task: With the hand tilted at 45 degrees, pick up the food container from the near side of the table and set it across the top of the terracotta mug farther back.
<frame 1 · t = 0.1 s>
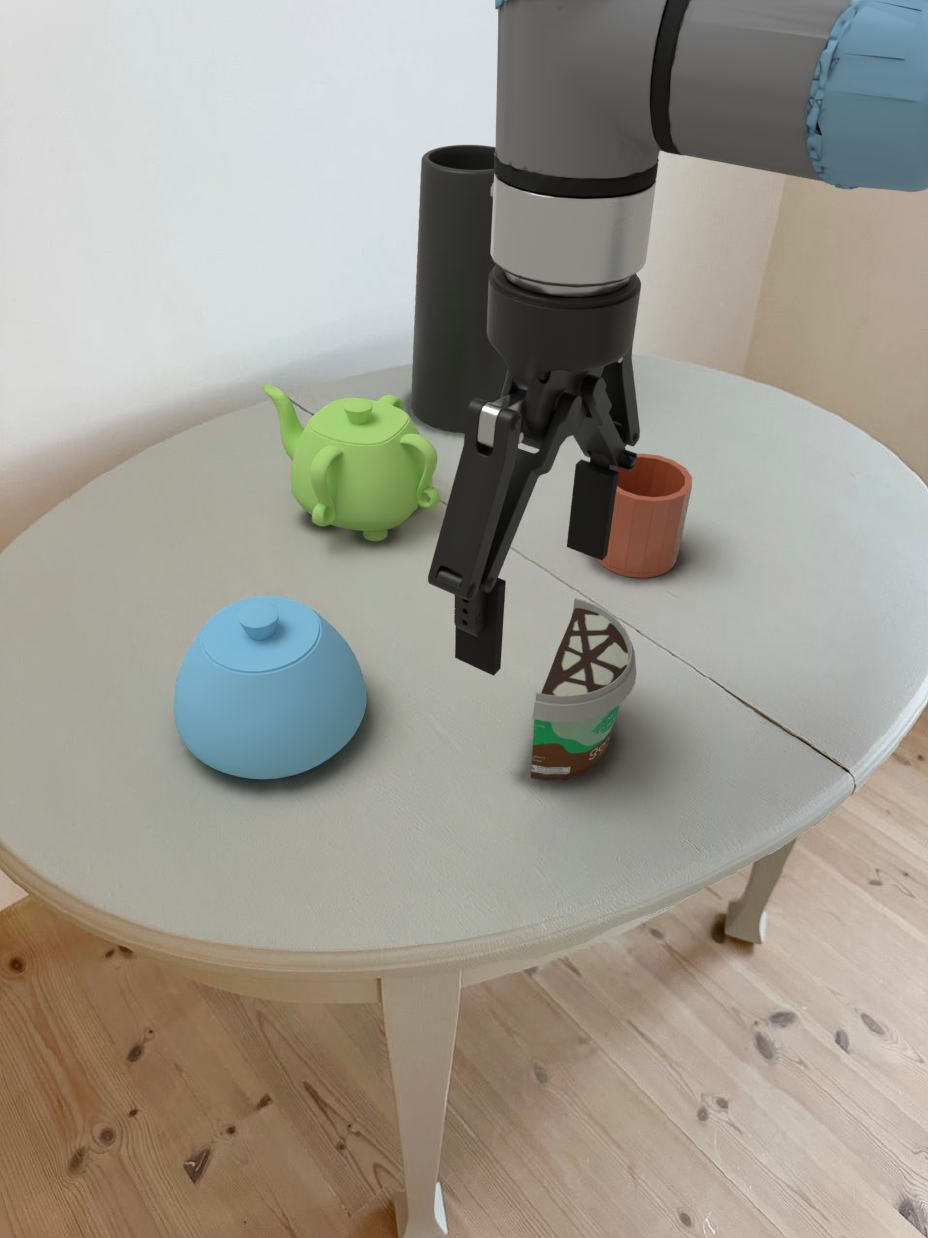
hand: (536, 603, 60), 19 cm above the table, tool pointing down, fingers open, 13 cm apart
vase: (465, 407, 120), on the table
teapot: (354, 510, 102), on the table
food container: (583, 746, 77), on the table
mug: (634, 552, 97), on the table
sugar bowl: (275, 722, 78), on the table
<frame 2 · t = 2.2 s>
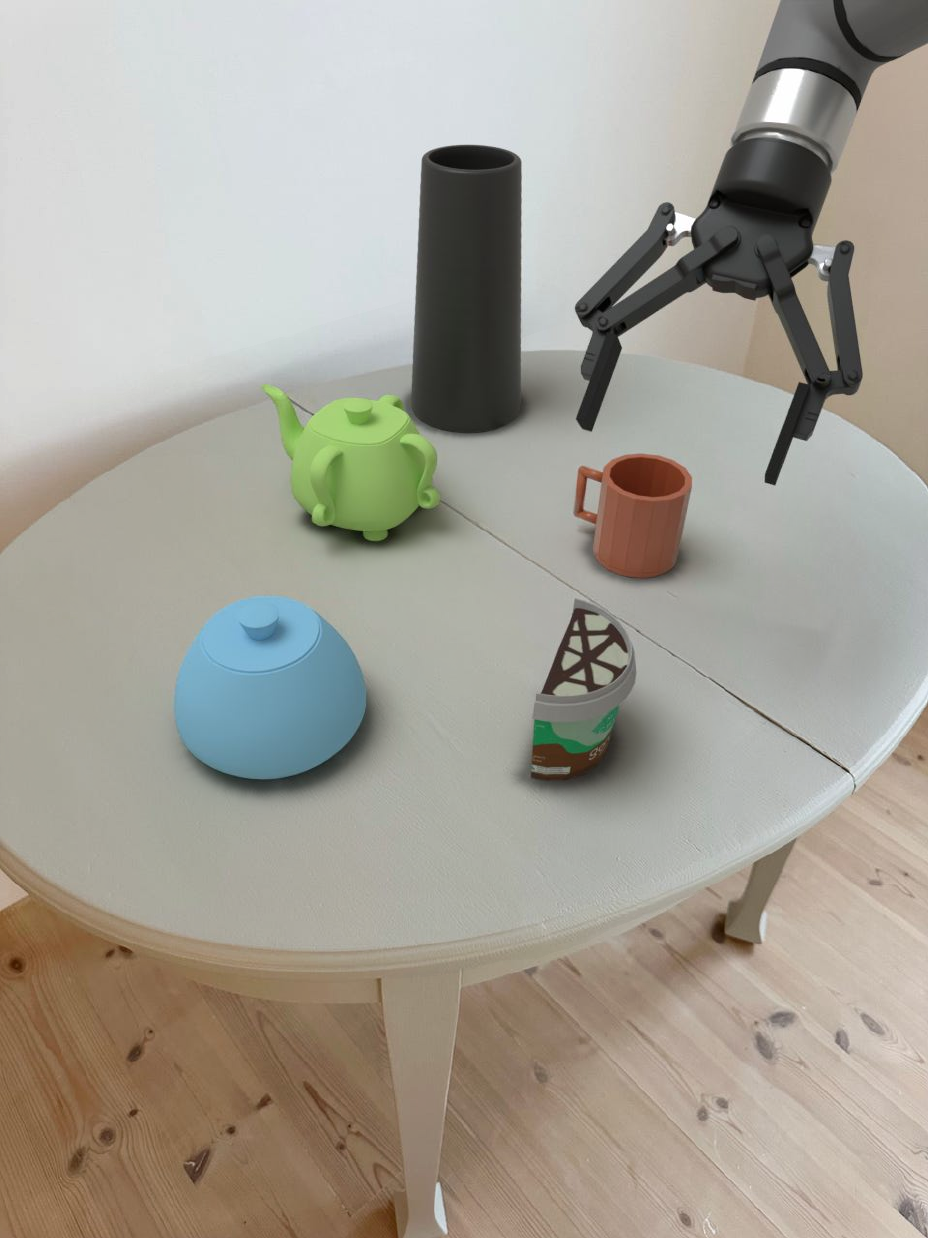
hand: (673, 452, 67), 23 cm above the table, tool tilted 40°, fingers open, 13 cm apart
nothing on the table moved.
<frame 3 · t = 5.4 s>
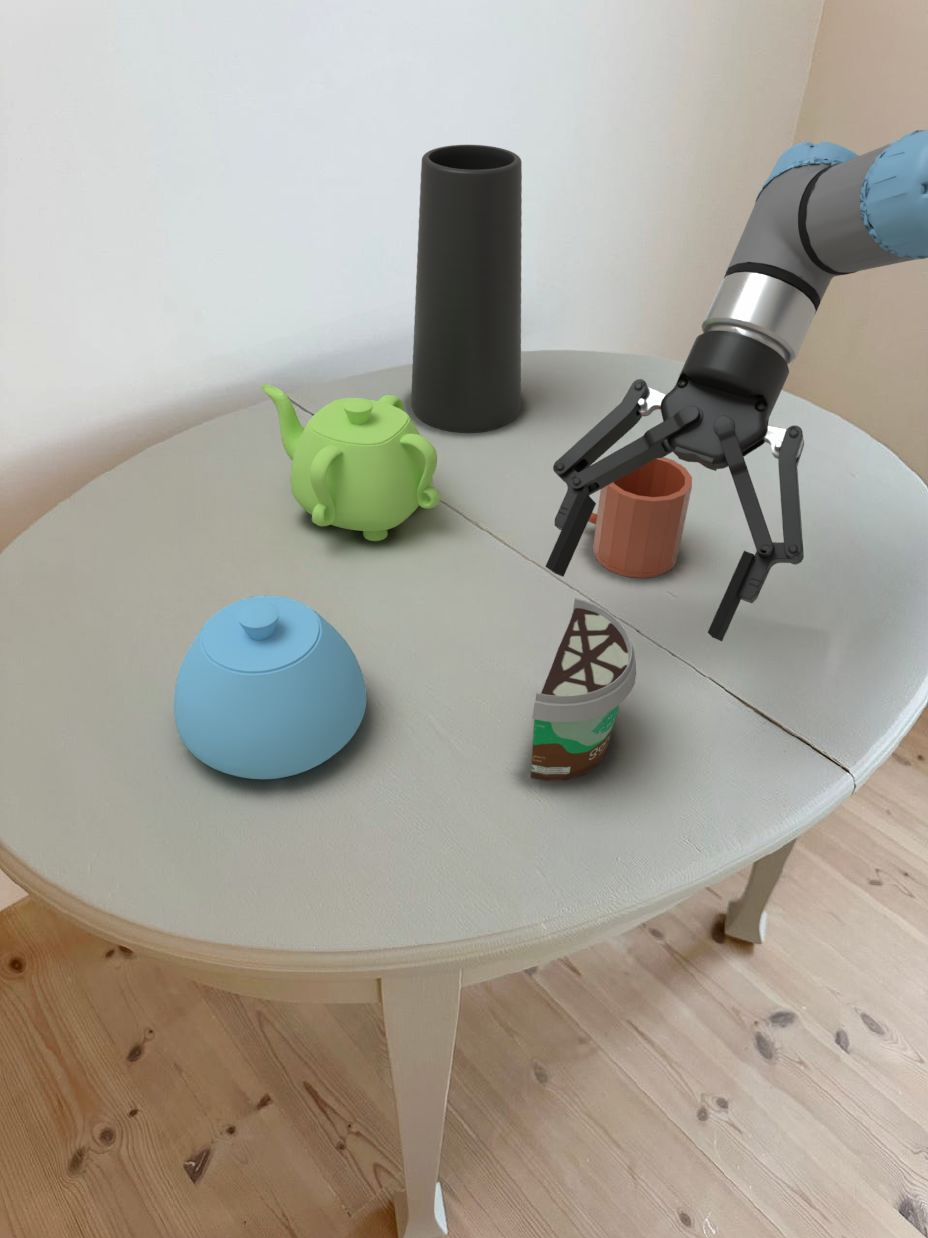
hand: (631, 603, 73), 11 cm above the table, tool tilted 45°, fingers open, 13 cm apart
nothing on the table moved.
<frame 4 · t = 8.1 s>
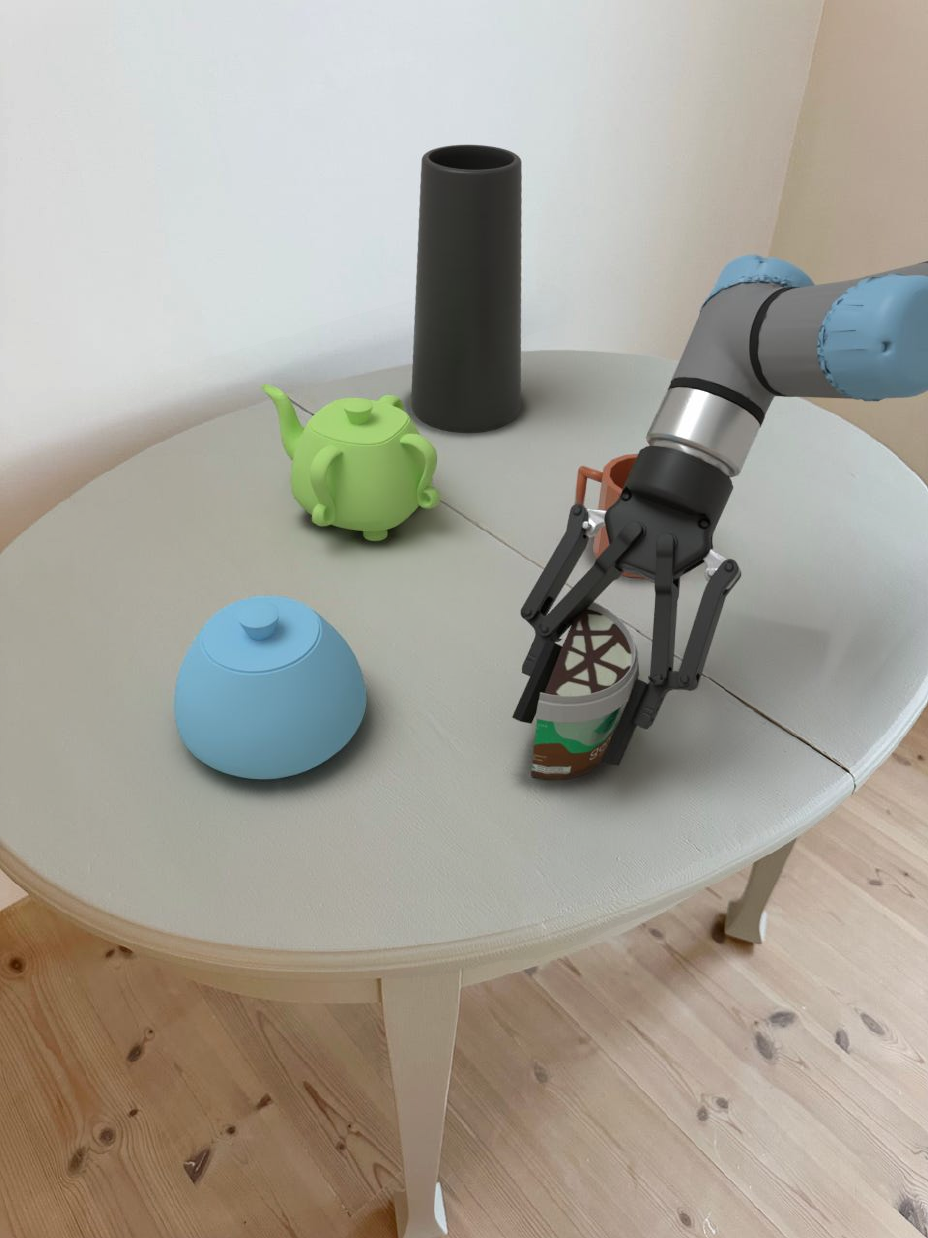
hand: (565, 741, 72), 4 cm above the table, tool tilted 45°, fingers closed on food container, 7 cm apart
food container: (583, 746, 77), on the table, touching gripper
everything else where it was.
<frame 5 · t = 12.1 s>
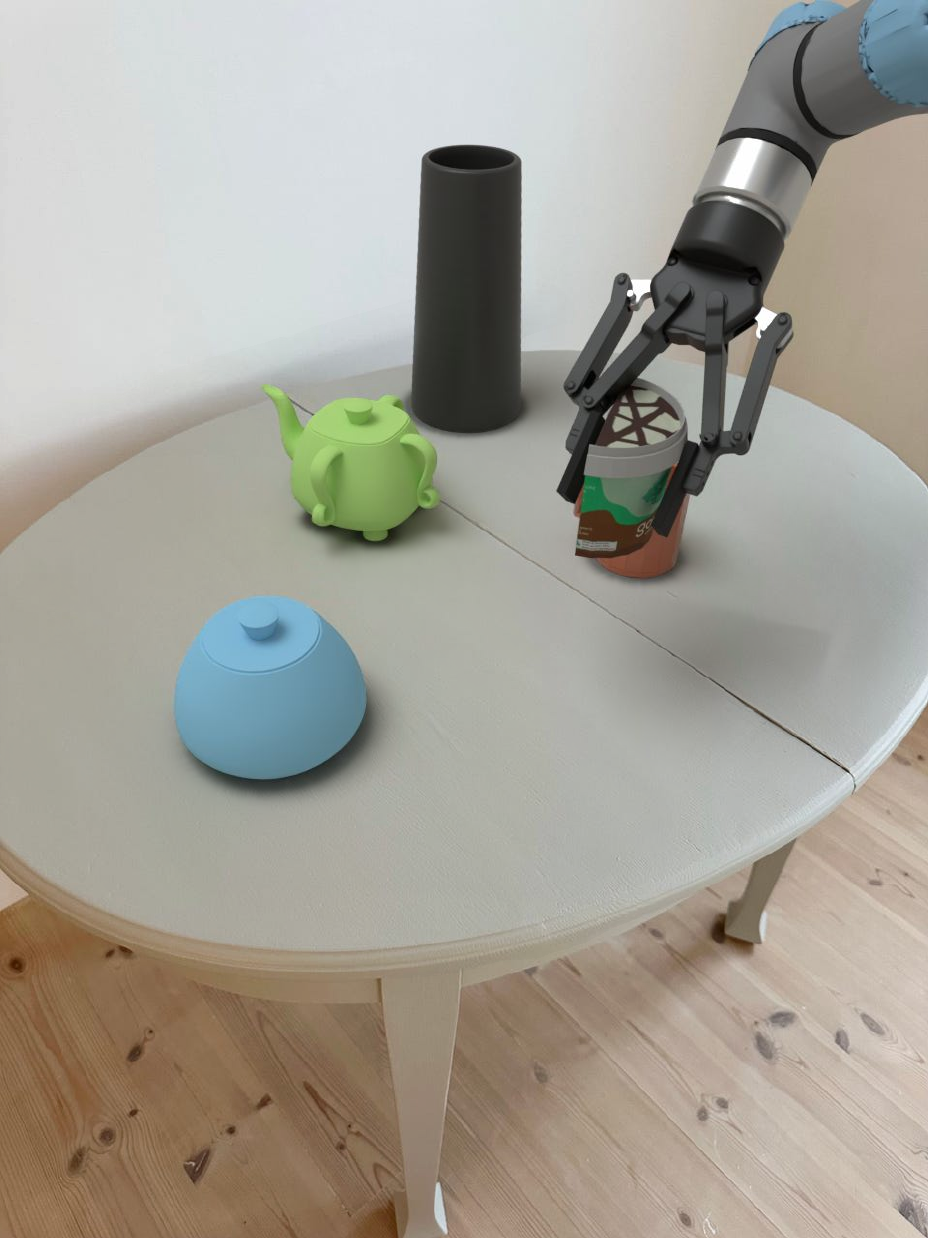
hand: (611, 513, 70), 18 cm above the table, tool tilted 45°, fingers closed on food container, 7 cm apart
food container: (626, 532, 74), point 14 cm above the table, touching gripper
everything else where it was.
when the fingers open (12 cm above the table, at t = 16.4 s): food container stays where it is, resting on mug.
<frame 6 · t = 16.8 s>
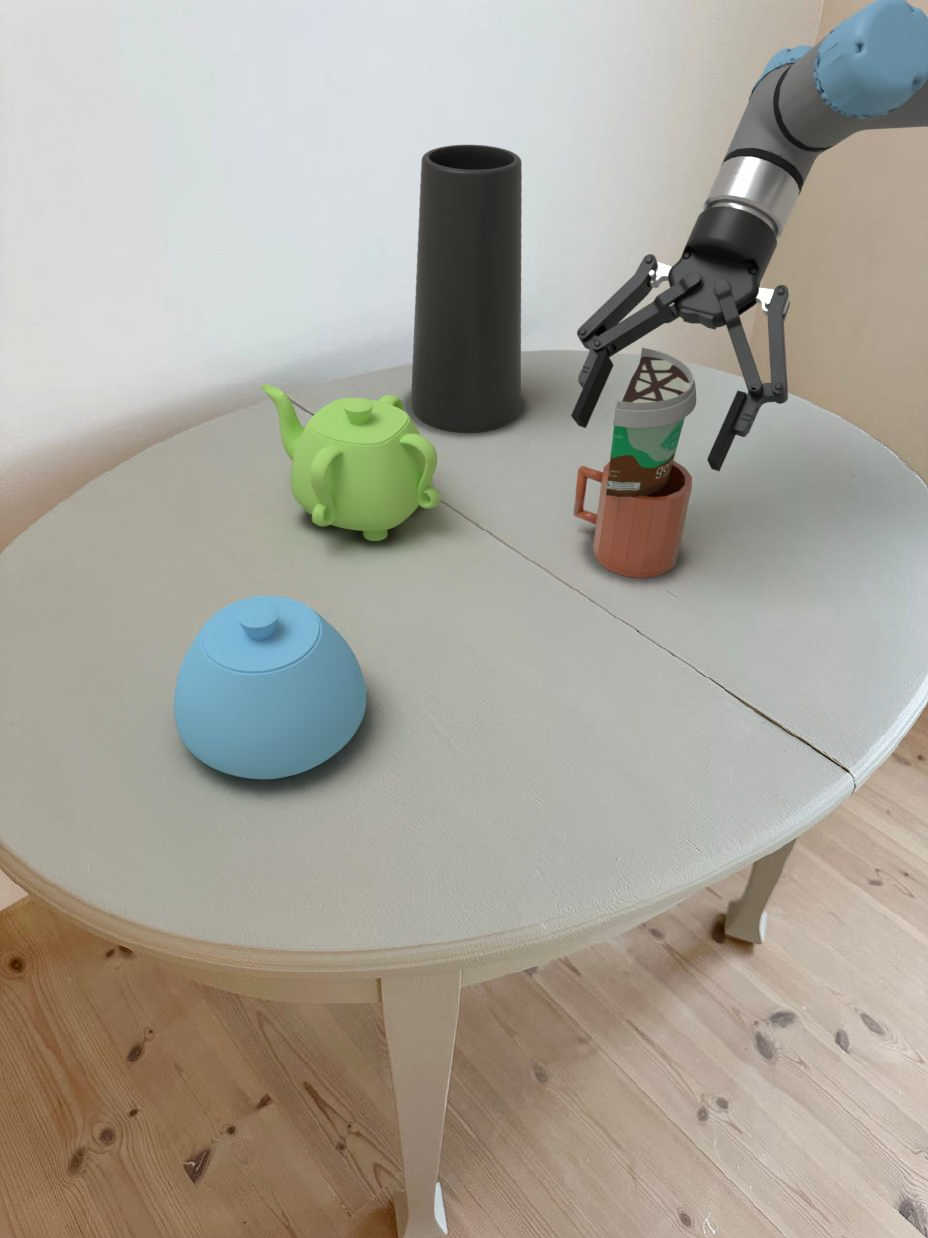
hand: (643, 443, 86), 14 cm above the table, tool tilted 45°, fingers open, 13 cm apart
food container: (647, 477, 91), point 9 cm above the table, touching mug
everything else where it was.
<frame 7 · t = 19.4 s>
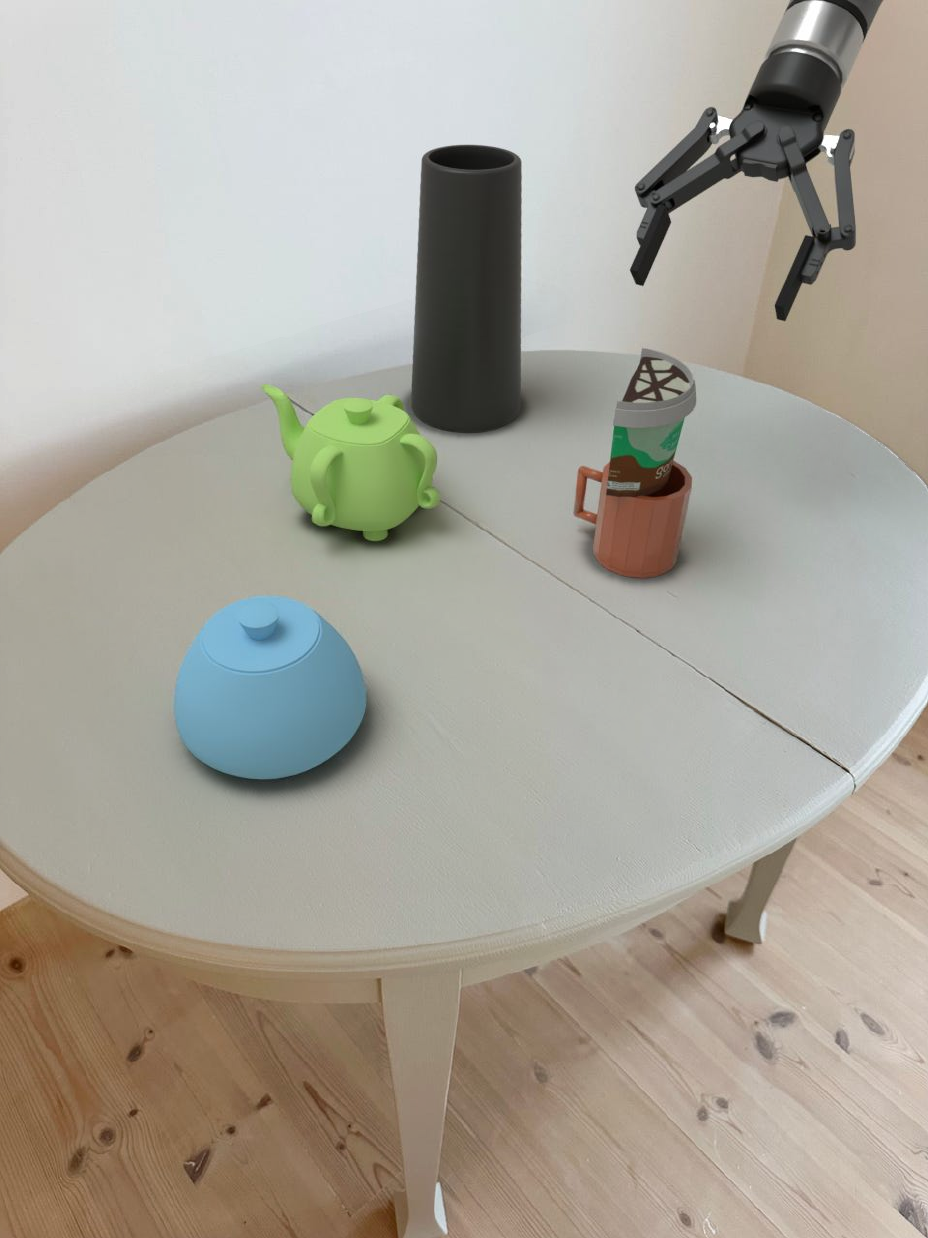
hand: (705, 295, 85), 24 cm above the table, tool tilted 45°, fingers open, 13 cm apart
nothing on the table moved.
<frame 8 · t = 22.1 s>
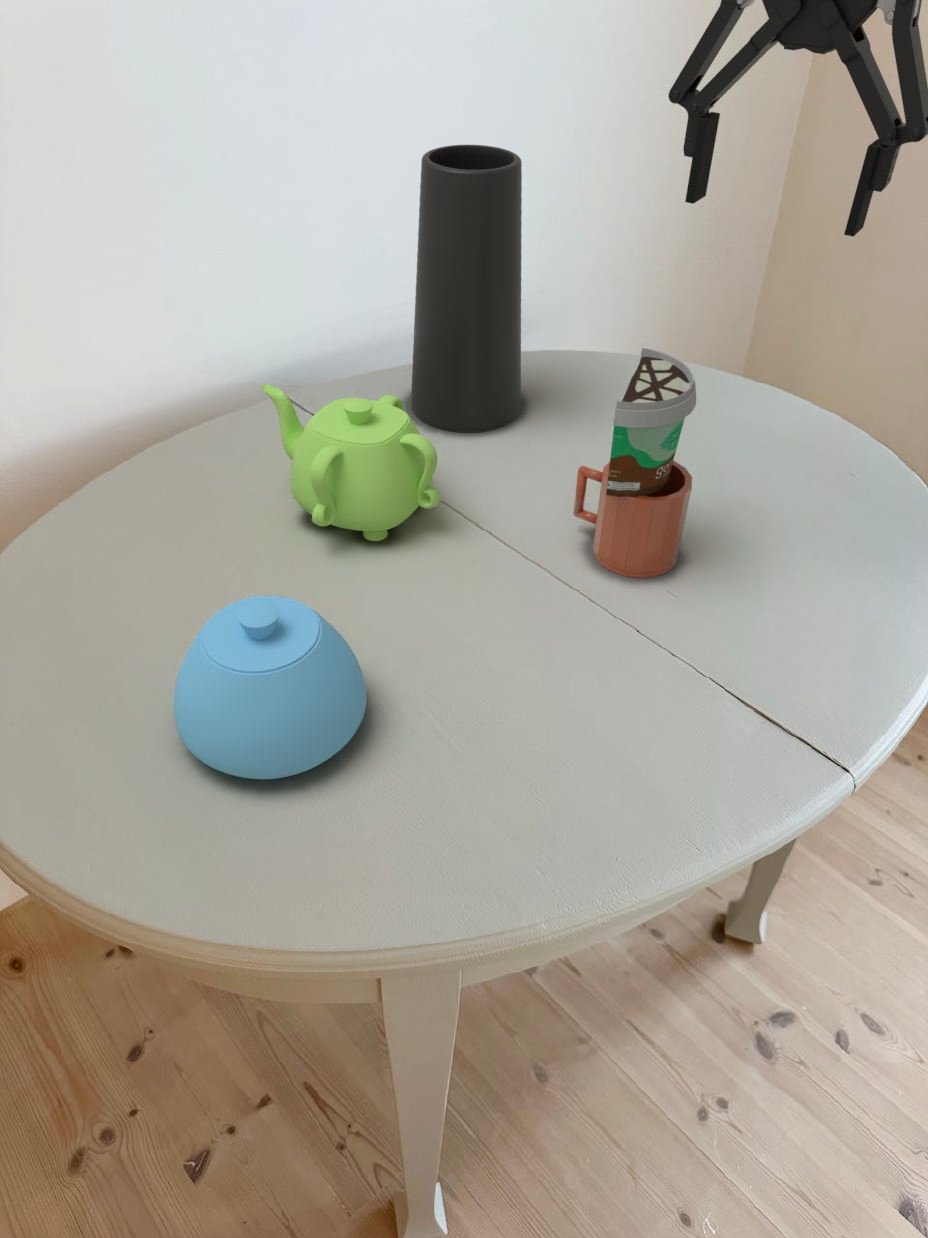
hand: (771, 214, 79), 32 cm above the table, tool pointing down, fingers open, 13 cm apart
nothing on the table moved.
at the end: food container 0.1 cm off-centre on the mug, point 8.8 cm above the mug's base; food container tilted 0°; the gripper is holding nothing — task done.
